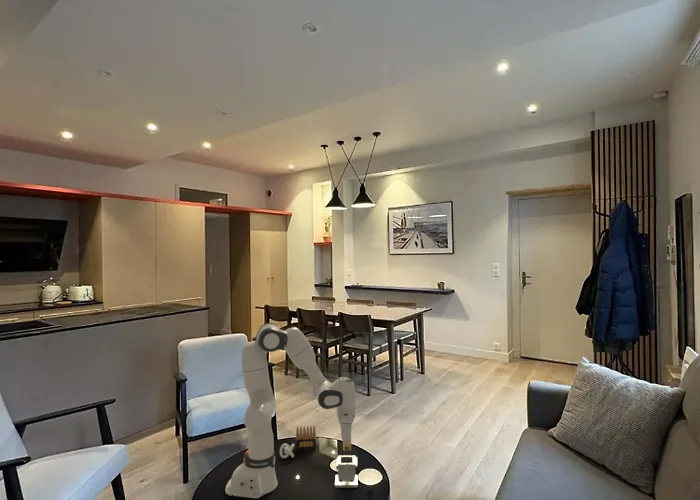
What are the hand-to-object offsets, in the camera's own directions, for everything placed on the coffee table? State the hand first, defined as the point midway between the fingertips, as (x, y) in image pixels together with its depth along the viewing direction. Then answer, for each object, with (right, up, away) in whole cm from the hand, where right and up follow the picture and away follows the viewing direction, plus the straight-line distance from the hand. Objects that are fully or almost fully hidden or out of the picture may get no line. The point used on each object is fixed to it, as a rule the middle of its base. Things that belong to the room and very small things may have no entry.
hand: (346, 441), depth 187 cm
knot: (-30, -15, +16) cm, 37 cm away
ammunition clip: (-22, -15, +24) cm, 36 cm away
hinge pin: (0, -4, 0) cm, 4 cm away
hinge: (0, -15, 0) cm, 15 cm away
